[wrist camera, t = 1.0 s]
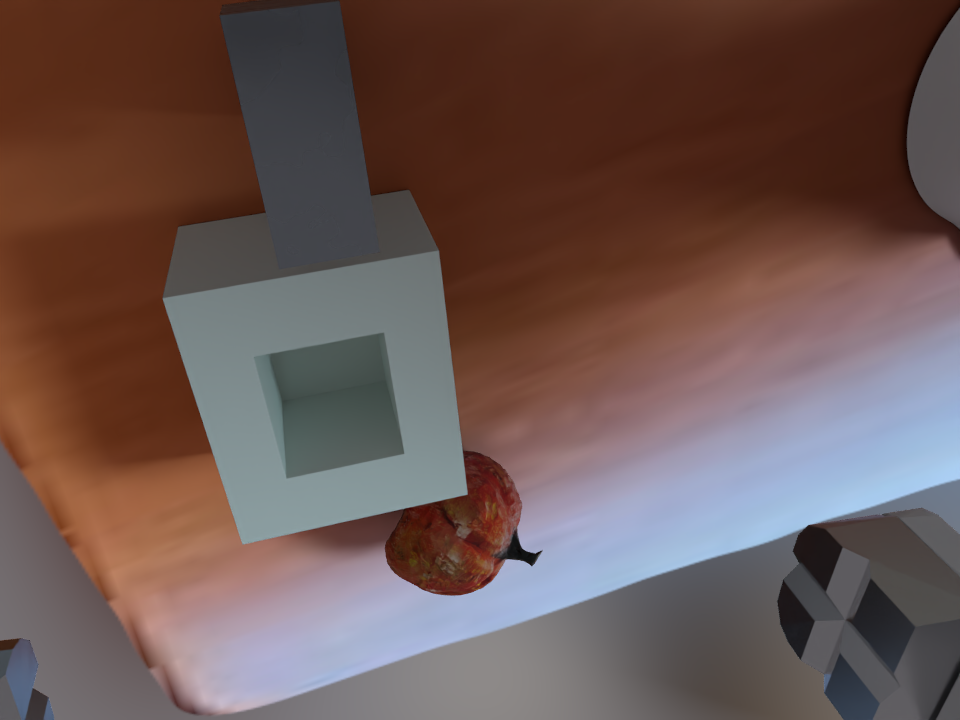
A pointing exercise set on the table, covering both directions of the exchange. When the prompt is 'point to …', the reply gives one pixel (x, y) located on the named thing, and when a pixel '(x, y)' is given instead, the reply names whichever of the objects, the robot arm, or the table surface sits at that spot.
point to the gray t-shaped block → (302, 127)
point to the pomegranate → (461, 534)
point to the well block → (319, 371)
